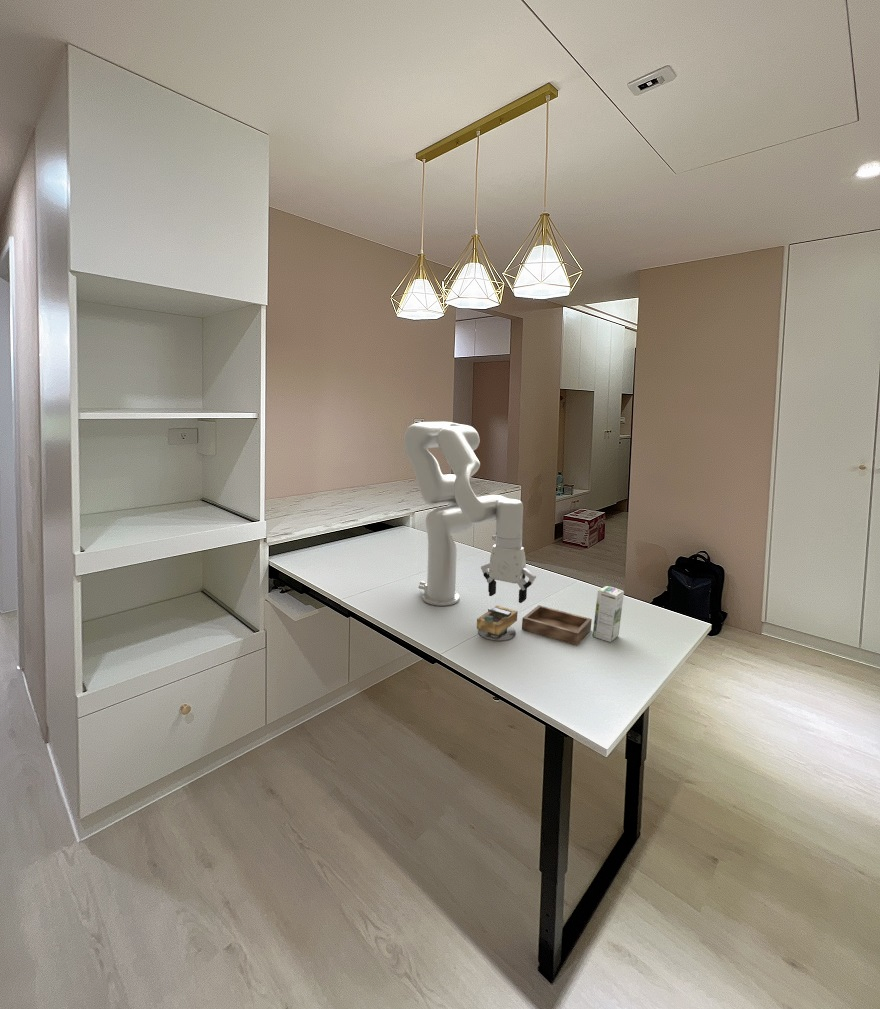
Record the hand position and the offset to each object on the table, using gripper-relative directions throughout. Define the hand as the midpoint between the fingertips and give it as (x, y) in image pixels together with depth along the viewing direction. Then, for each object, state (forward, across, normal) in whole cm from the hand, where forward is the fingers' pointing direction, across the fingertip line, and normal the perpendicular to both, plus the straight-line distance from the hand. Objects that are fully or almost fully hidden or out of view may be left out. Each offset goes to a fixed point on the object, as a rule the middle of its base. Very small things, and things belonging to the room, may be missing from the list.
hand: (506, 598), depth 157 cm
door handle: (+10, -1, -4) cm, 10 cm away
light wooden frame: (+7, -1, -4) cm, 8 cm away
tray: (+10, +12, +9) cm, 18 cm away
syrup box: (+11, +26, +13) cm, 31 cm away
